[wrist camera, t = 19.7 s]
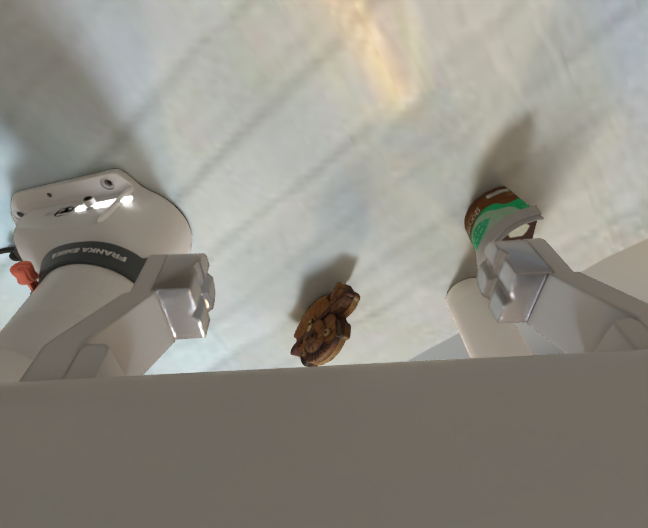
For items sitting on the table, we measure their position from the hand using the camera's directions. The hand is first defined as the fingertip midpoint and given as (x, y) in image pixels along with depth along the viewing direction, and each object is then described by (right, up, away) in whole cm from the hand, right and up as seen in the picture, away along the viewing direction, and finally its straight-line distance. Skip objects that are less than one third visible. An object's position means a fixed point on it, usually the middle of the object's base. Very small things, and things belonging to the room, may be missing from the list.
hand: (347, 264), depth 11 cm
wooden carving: (-1, -7, +53) cm, 53 cm away
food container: (+21, +7, +44) cm, 49 cm away
